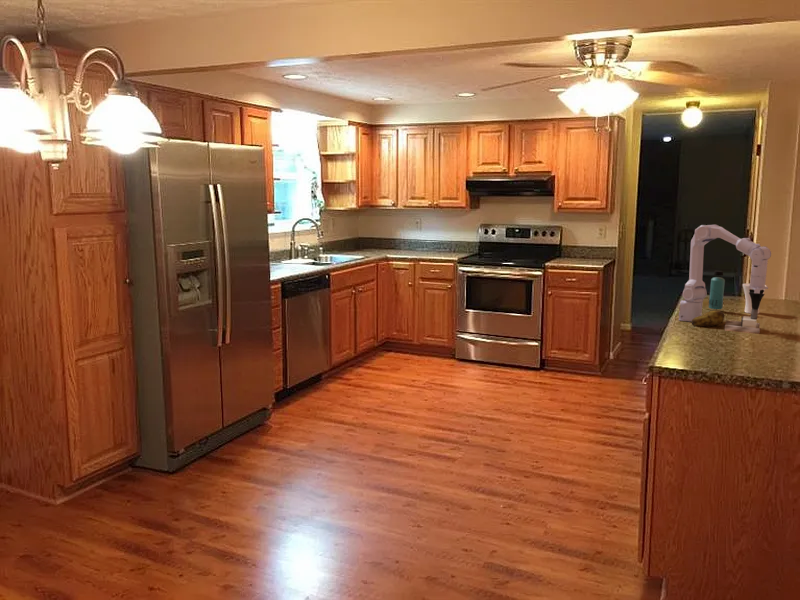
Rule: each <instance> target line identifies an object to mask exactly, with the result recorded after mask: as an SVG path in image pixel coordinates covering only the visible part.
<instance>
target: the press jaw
mask: <svg viewBox="0 0 800 600" xmlns="http://www.w3.org/2000/svg"><path fill="white" fill-rule="evenodd" d="M758 315H759V313H758V310H754V309H752V310H751V313H750V316H747V315H743V316H741V318H740V319H741V320H740V322H741V326H742V327H753V328H756V323H757V320H758Z"/></svg>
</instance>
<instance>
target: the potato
mask: <svg viewBox="0 0 800 600" xmlns="http://www.w3.org/2000/svg"><path fill="white" fill-rule="evenodd" d="M725 317H726V316H725V314H724V312H722V311H721V310H720V309H711V310H710V311H707V312H705V313H704V314H702V315H701V316H698V317H695V318H694V319H692V321H691V325H692V326H693V327H694V328H695V327H713V326H717V325H720V324H723V322H724V319H725Z"/></svg>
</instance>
